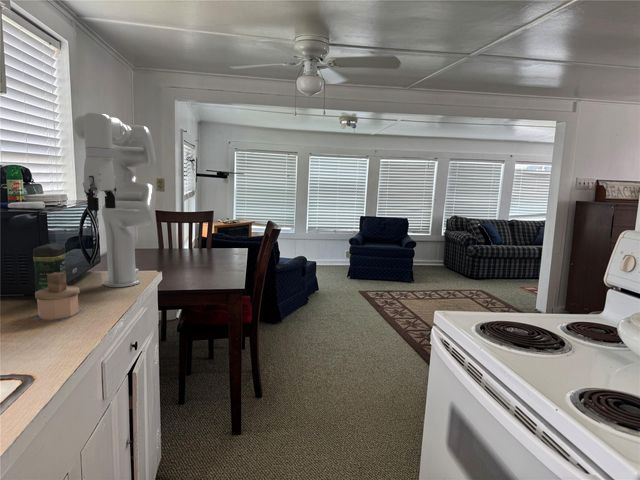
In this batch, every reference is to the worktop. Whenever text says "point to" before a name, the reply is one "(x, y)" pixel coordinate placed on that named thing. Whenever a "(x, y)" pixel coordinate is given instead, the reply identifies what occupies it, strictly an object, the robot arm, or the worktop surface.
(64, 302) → the bowl
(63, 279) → the lid
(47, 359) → the worktop surface
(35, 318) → the mat
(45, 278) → the coffee jar
